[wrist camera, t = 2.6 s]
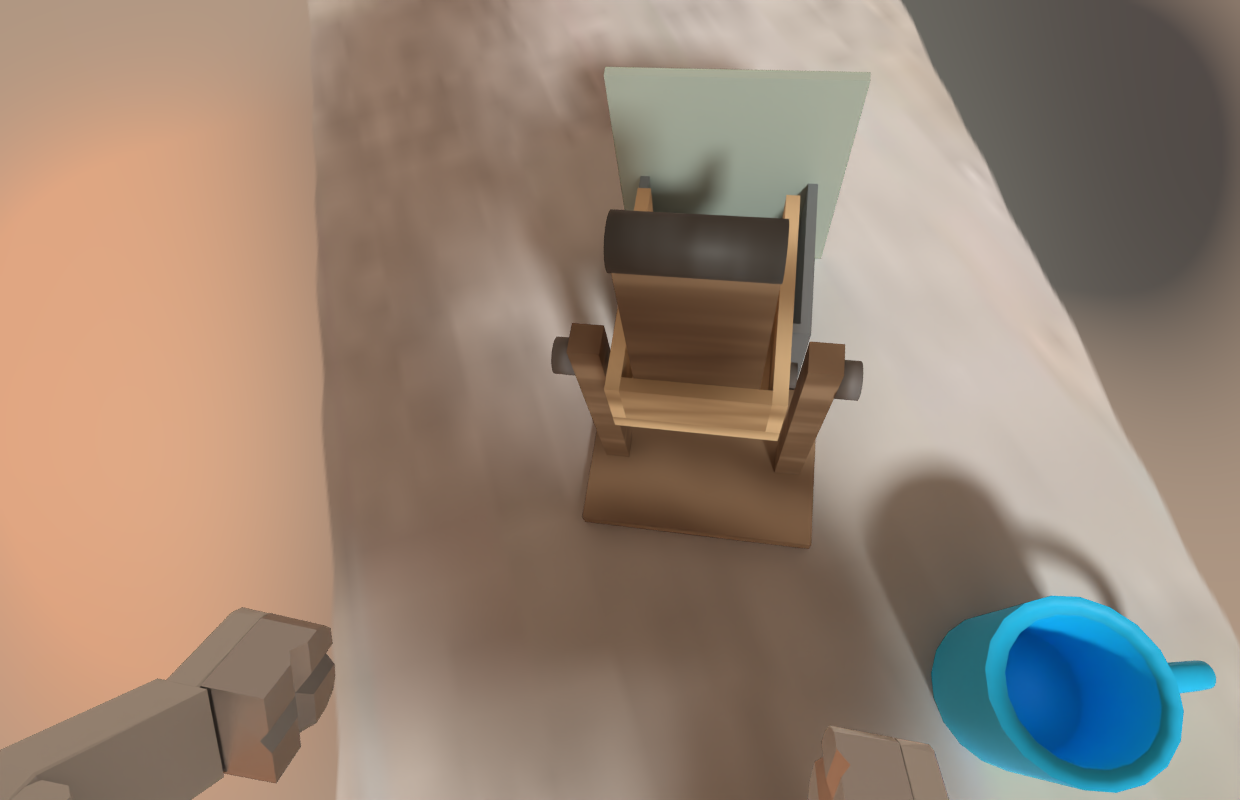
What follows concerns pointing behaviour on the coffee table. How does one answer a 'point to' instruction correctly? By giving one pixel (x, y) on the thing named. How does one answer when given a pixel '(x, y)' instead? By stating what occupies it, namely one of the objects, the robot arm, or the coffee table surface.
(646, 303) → the chute
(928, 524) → the coffee table surface
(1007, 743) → the mug
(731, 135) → the bin
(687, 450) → the stand
